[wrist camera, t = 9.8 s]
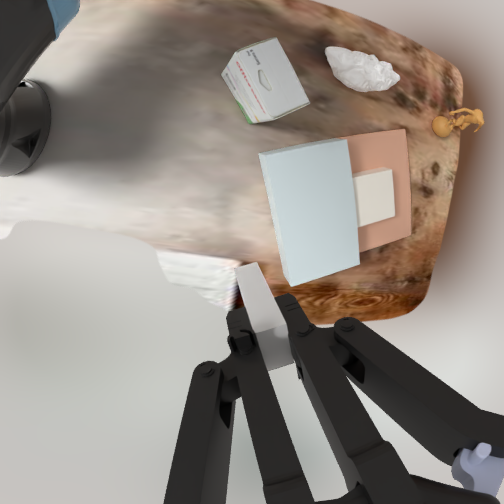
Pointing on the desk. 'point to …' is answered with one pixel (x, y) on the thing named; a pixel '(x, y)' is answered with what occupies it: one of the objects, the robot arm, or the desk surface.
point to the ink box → (264, 82)
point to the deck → (312, 208)
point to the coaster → (373, 195)
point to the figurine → (457, 122)
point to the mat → (396, 158)
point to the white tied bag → (360, 70)
